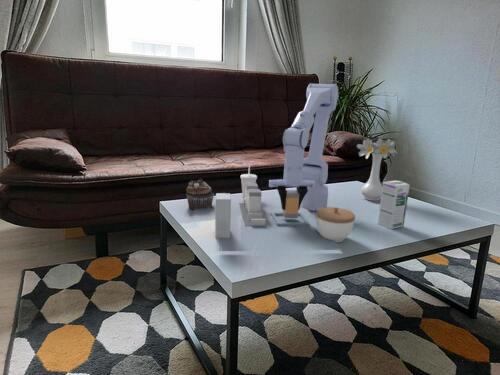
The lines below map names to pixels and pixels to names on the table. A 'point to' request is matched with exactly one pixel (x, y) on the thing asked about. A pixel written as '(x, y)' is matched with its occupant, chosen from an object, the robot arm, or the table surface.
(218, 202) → the skincare box
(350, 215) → the lidded jar
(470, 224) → the table surface
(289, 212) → the block
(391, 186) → the syrup box
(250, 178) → the smoothie
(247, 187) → the block
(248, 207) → the block
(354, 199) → the table surface
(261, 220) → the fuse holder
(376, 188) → the flower vase
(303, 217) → the tray
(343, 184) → the table surface
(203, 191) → the cupcake
